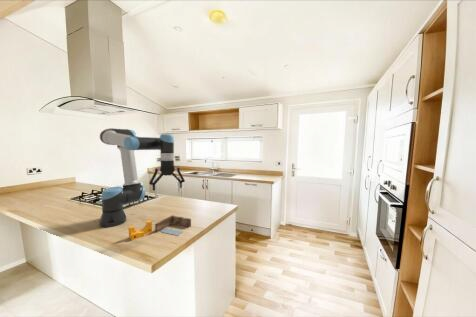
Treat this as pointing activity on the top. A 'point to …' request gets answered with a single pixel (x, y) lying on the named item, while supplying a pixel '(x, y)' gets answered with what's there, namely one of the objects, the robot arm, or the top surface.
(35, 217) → the top surface
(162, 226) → the brown wooden corner wall
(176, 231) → the pad
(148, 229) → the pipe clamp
